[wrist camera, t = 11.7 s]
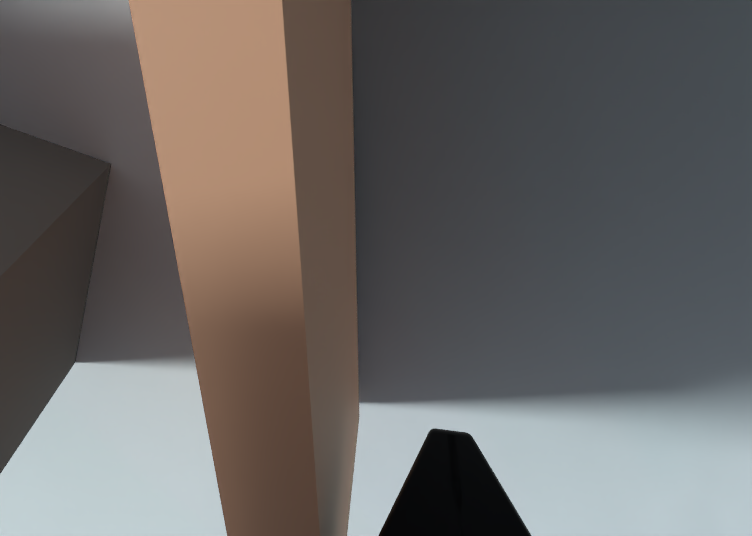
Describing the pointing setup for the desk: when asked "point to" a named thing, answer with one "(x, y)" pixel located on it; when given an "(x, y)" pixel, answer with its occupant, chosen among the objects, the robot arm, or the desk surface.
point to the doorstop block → (42, 271)
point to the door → (264, 243)
